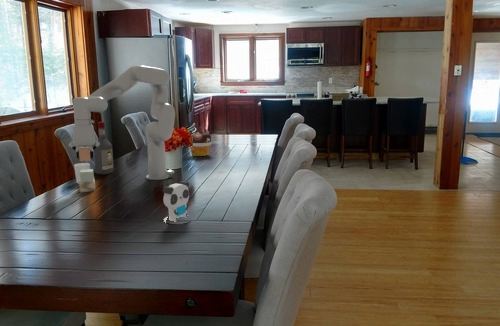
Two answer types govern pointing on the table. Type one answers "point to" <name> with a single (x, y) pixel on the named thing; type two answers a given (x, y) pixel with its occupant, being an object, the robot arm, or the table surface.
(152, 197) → the table surface
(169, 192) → the panda figurine
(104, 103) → the robot arm
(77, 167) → the white cup
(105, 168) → the liquor
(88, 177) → the sage top block
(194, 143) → the bucket of meat
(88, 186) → the beech base block
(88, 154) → the terracotta block
